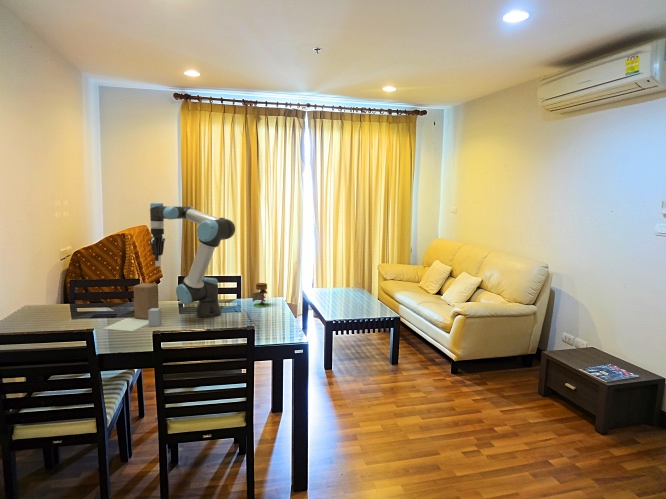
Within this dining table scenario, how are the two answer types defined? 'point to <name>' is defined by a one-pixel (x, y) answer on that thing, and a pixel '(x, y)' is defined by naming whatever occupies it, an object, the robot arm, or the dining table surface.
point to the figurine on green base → (260, 295)
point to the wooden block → (145, 299)
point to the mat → (128, 325)
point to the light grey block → (154, 316)
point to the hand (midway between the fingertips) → (158, 265)
